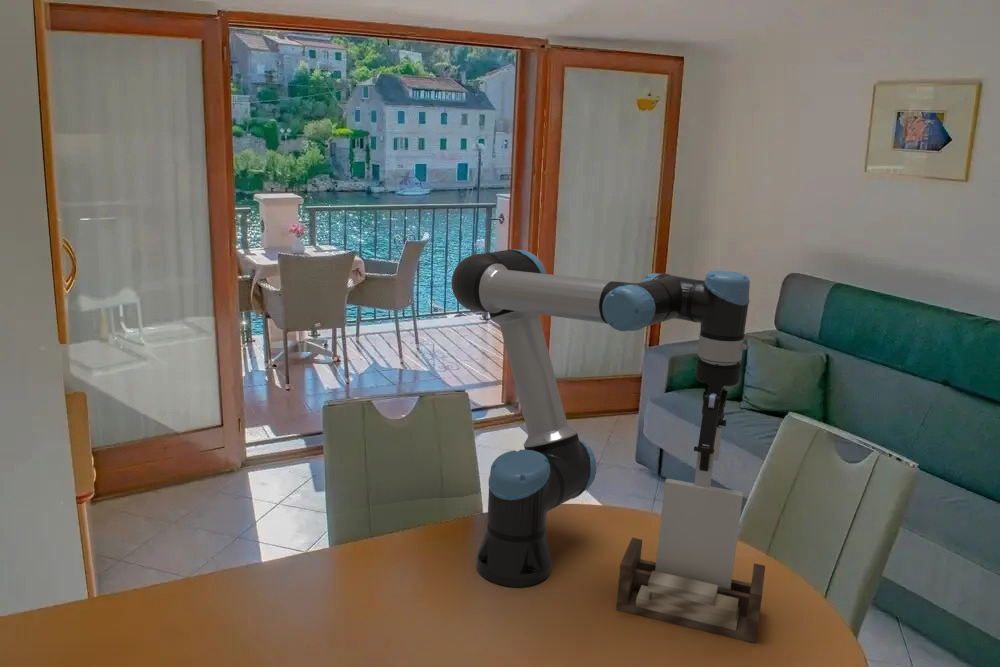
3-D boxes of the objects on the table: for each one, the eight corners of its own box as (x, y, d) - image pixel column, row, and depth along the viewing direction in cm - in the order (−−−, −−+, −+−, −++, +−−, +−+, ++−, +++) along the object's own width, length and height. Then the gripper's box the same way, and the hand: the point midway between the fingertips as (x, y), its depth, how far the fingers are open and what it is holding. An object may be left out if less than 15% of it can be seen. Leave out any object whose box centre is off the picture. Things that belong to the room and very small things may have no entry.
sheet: (652, 590, 157) (665, 481, 153) (654, 585, 159) (666, 478, 155) (727, 607, 153) (742, 496, 148) (728, 602, 154) (743, 492, 150)
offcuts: (635, 606, 152) (638, 580, 150) (640, 593, 156) (643, 567, 155) (736, 630, 146) (739, 603, 144) (738, 616, 150) (741, 589, 149)
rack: (616, 609, 153) (620, 563, 151) (628, 580, 163) (632, 537, 161) (755, 643, 145) (762, 595, 142) (758, 610, 155) (765, 565, 153)
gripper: (735, 381, 132) (721, 503, 137) (746, 346, 155) (733, 452, 160) (688, 374, 134) (675, 494, 139) (705, 341, 157) (694, 445, 162)
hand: (706, 472), depth 149 cm, fingers open, 13 cm apart
